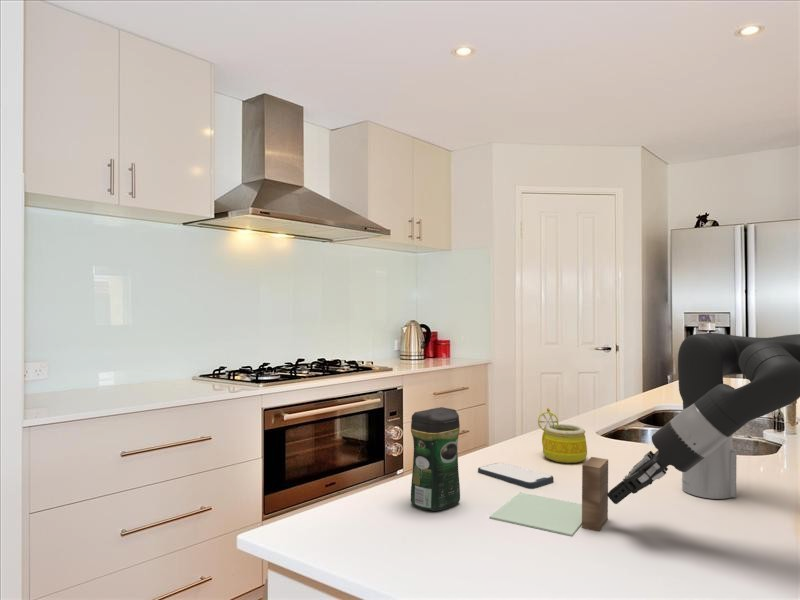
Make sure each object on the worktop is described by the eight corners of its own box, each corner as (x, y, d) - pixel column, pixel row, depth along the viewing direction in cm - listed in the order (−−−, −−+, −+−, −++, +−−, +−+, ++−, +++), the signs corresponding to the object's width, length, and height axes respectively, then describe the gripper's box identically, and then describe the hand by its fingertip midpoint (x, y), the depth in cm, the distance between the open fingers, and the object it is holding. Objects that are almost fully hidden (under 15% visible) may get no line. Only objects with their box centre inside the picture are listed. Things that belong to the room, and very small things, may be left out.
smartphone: (475, 474, 135) (530, 491, 123) (475, 467, 135) (530, 483, 123) (500, 468, 141) (556, 483, 128) (500, 461, 141) (556, 476, 128)
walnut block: (607, 519, 106) (608, 459, 106) (599, 531, 101) (599, 467, 101) (590, 516, 108) (591, 456, 108) (581, 527, 102) (582, 465, 102)
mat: (594, 508, 112) (595, 506, 112) (572, 536, 98) (572, 534, 98) (520, 493, 120) (520, 492, 120) (489, 518, 106) (489, 516, 106)
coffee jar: (436, 493, 120) (437, 403, 120) (466, 503, 114) (467, 408, 114) (402, 504, 113) (403, 408, 113) (432, 515, 107) (433, 414, 107)
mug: (596, 461, 146) (597, 412, 146) (567, 467, 139) (568, 417, 139) (556, 449, 156) (556, 405, 156) (527, 455, 150) (528, 409, 150)
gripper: (705, 465, 89) (620, 529, 95) (709, 446, 100) (634, 505, 107) (666, 426, 92) (587, 491, 98) (675, 412, 103) (603, 471, 109)
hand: (611, 498), depth 102 cm, fingers closed
